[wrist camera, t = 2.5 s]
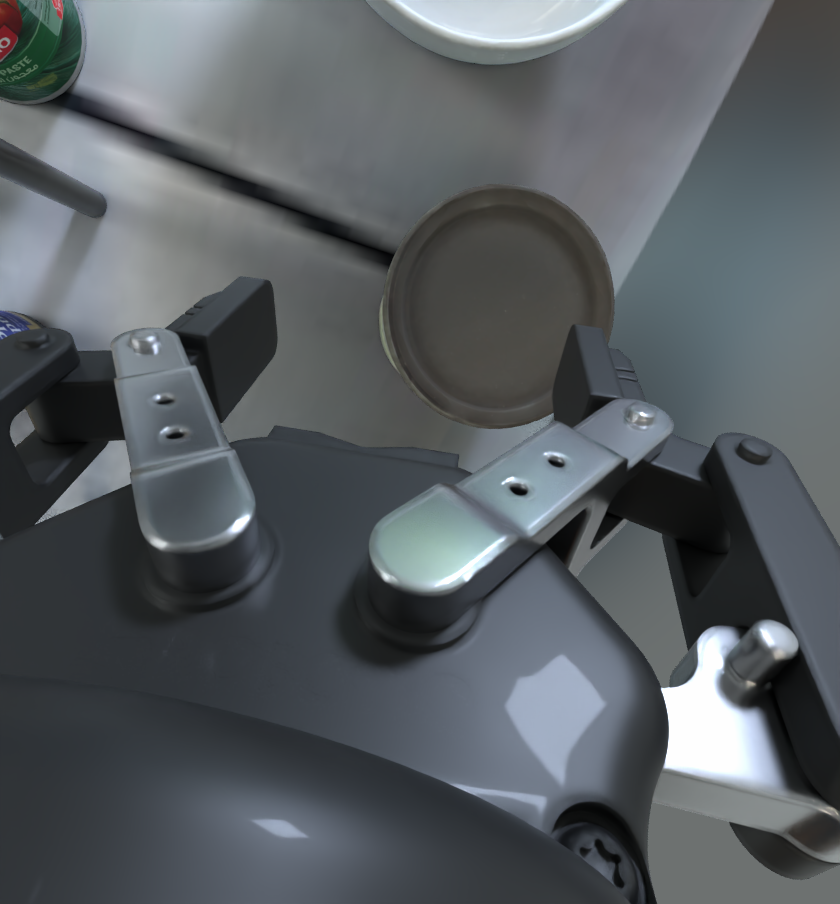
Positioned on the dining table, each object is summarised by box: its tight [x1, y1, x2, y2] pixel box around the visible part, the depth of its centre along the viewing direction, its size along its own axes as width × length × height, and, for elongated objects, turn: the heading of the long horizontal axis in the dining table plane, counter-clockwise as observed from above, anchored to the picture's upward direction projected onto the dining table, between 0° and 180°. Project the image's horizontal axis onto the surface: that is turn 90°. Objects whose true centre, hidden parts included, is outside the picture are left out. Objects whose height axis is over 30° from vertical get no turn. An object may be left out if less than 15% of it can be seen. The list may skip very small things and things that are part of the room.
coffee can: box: [379, 184, 614, 429], centre depth 29 cm, size 10×10×14 cm
